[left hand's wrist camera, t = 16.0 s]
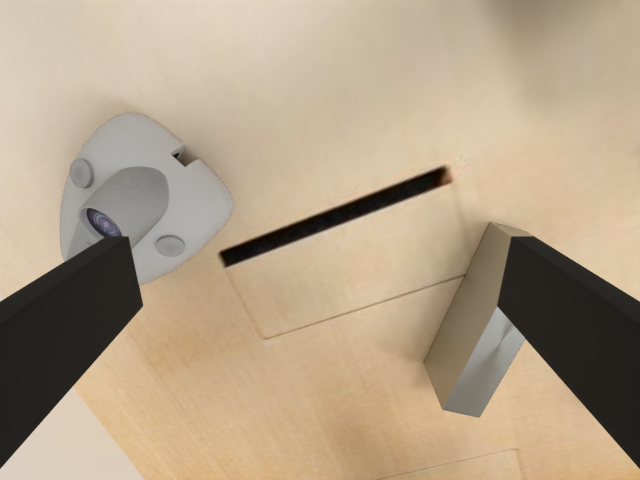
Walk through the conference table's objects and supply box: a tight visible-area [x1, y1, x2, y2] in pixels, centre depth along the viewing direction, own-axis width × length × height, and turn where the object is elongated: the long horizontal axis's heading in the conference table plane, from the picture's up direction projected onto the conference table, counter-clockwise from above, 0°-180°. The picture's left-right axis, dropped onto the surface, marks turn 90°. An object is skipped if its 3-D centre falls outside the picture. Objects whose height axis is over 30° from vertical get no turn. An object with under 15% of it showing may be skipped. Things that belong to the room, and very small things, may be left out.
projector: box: [60, 113, 233, 286], centre depth 38 cm, size 22×23×15 cm
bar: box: [424, 222, 554, 417], centre depth 46 cm, size 24×5×9 cm, turn 165°
